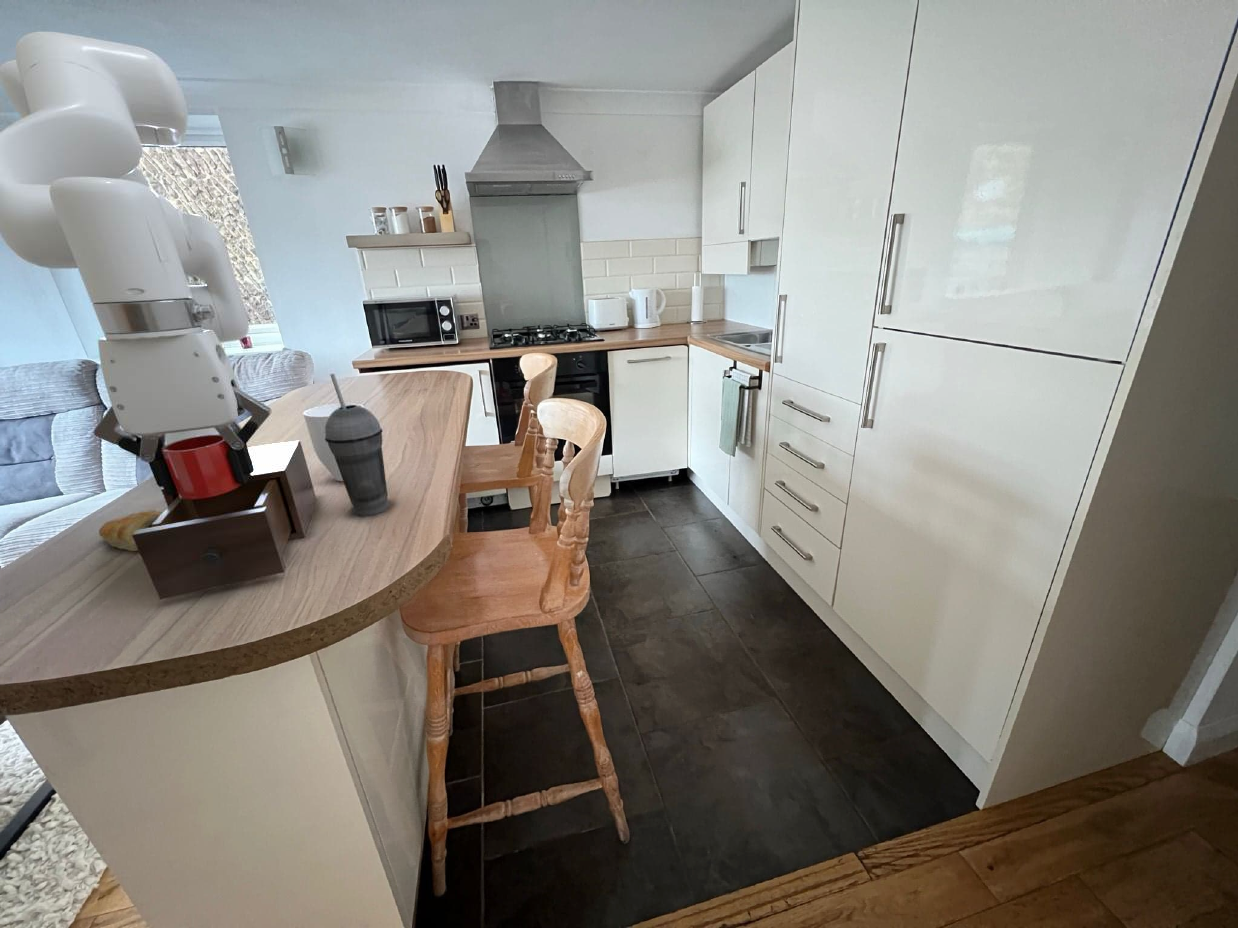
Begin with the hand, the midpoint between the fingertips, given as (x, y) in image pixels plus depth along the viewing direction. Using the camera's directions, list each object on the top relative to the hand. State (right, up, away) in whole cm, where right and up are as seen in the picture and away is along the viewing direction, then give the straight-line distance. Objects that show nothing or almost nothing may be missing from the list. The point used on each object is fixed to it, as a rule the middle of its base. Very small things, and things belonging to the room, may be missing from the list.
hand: (210, 483), depth 57 cm
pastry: (-18, -8, +11) cm, 23 cm away
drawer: (+1, -9, +3) cm, 10 cm away
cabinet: (-4, -6, +14) cm, 16 cm away
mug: (0, 0, +31) cm, 32 cm away
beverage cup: (+10, -5, +18) cm, 21 cm away
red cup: (0, -1, 0) cm, 1 cm away
